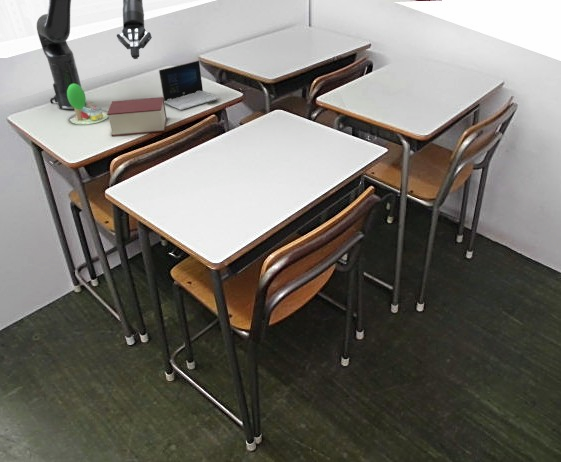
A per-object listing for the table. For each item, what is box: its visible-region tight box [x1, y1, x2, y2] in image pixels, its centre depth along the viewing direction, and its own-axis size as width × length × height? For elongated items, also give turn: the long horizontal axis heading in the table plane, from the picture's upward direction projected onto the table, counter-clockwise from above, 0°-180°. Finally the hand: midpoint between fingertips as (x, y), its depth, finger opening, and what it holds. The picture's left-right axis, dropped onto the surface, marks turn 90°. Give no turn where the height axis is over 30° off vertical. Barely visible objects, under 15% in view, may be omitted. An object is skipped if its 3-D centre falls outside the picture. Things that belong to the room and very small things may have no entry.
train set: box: [67, 84, 109, 125], centre depth 193 cm, size 15×14×14 cm
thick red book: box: [106, 96, 168, 137], centre depth 184 cm, size 18×13×8 cm
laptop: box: [158, 60, 220, 111], centre depth 204 cm, size 18×12×13 cm
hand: (135, 57), depth 192 cm, fingers closed
